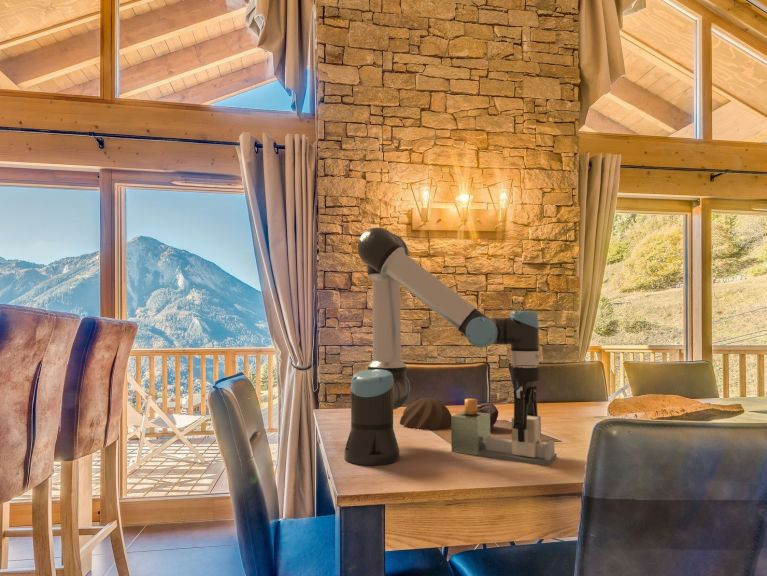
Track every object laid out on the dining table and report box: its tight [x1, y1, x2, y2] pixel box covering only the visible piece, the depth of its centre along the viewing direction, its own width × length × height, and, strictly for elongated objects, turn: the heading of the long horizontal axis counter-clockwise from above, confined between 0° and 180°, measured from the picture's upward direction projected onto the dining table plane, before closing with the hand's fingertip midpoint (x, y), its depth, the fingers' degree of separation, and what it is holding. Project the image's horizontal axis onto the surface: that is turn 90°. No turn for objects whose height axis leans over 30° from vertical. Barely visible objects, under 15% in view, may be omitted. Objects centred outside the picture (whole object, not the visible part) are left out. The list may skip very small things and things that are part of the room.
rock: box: [477, 402, 499, 431], centre depth 174 cm, size 12×9×10 cm
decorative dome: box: [399, 396, 452, 431], centre depth 183 cm, size 19×20×10 cm
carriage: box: [511, 415, 542, 457], centre depth 138 cm, size 7×6×10 cm
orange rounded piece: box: [464, 398, 478, 415], centre depth 147 cm, size 4×4×4 cm
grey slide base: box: [478, 436, 557, 467], centre depth 139 cm, size 10×19×5 cm, turn 58°
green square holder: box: [450, 410, 491, 456], centre depth 146 cm, size 10×8×10 cm
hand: (526, 450), depth 137 cm, fingers closed on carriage, 7 cm apart
